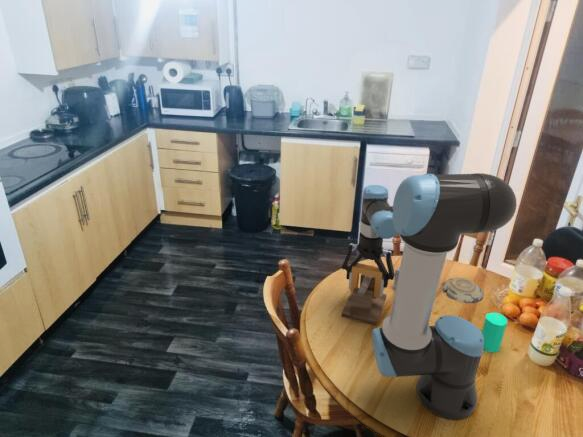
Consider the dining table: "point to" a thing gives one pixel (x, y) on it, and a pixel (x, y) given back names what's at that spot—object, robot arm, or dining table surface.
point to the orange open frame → (366, 271)
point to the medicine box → (396, 278)
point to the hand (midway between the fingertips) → (365, 290)
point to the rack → (364, 302)
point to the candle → (493, 331)
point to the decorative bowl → (462, 290)
